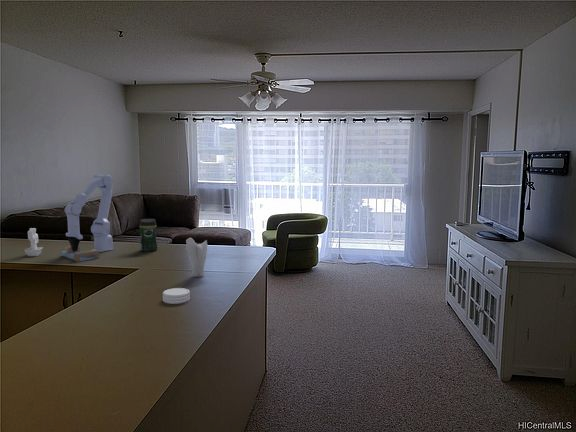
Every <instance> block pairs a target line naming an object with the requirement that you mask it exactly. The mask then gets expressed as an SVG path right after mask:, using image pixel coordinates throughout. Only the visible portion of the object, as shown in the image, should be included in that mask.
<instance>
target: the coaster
mask: <svg viewBox="0 0 576 432" xmlns="http://www.w3.org/2000/svg"><path fill="white" fill-rule="evenodd" d="M190 293H191V291H190V290H189V289H188V288H183V287H173V288H168V289H166V290H164V291H163V292H162V301H163V303H165V304H171V305H172V304H173V305H177V304H184V303H187V302H188V301H190V299H191V296H190V295H191V294H190Z"/></svg>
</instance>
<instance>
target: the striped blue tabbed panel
mask: <svg viewBox="0 0 576 432" xmlns="http://www.w3.org/2000/svg"><path fill="white" fill-rule="evenodd" d="M66 258H67V259H70V260H74V262H77V263H79V262H83V261H84V262H85V261H89V260H94V259H95V260H96V259H99V258H100V252H99V251H98V250H92V249H91V250H88V251H87V250H86V251H85V250H82V251H79V252H72V253H67V257H66Z"/></svg>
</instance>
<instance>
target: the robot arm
mask: <svg viewBox="0 0 576 432" xmlns="http://www.w3.org/2000/svg"><path fill="white" fill-rule="evenodd" d="M113 183H114V179H113V177H112V175H110V174H96V173H95V174H94V175H93V176H92V177H91V179H90V182H89V183H88V185H87V186H86V187H85V188H84V190H83V191H82V193H77V194H76V195H75V198H74V199H73V200H72V201H70V203H68V204H67V205H65V208H64V210H63V212H64V213H65V215H66V217H67V232H65V237H68V238H67V241H68V242H69V244H70V246H71V248H72V251H77V250H78V245H80V243H81V240H84V239H83V238H84V237H83V235H82V234H81V232H80V231H81V229H80V214H81V213H82V209H83V206H85V204H86V203H88V200H89V196H90V195H91V194H92V193H93V192H94V191H95V190H96V189H97V188H98V189H99V190H101V198H100V202H99V205H98V206H99V207H98V213H97V216H96V218H95V219H94V220H93V222H92V225H91V226H90V232H91V233H92V235H93V241H94V242H93V244H94V248H93V249H91V251H92V250H98V251H99V253H102V252H108V251H109V252H110V251H113V250H114V244H113V236H112V235H111V234H110V232H111V222H110V221H109V220H108V218H109V213H110V208H111V204H112V203H111V202H112V197H113V191H114V188H113V187H114V186H113ZM114 251H115V250H114Z"/></svg>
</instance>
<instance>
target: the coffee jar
mask: <svg viewBox="0 0 576 432" xmlns="http://www.w3.org/2000/svg"><path fill="white" fill-rule="evenodd" d="M138 228H139V230H140V243H139V244H140V245H139V246H140V248H139V249H140V251H141V252H153V251H157V250H158V242H157V241H158V240H157V237H156V236H157V232H156V230H157V229H156V228H157V222H156V219H155V218H142V219H140V220H139V225H138Z"/></svg>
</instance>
